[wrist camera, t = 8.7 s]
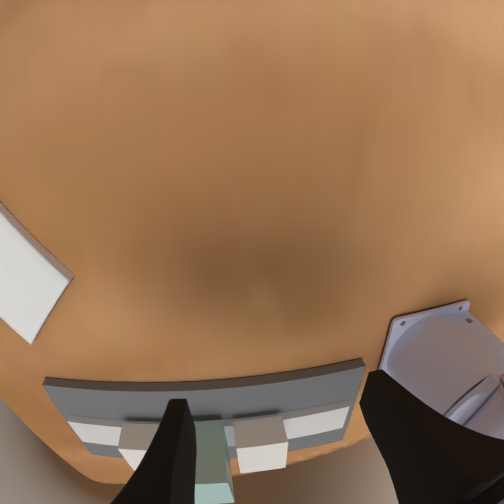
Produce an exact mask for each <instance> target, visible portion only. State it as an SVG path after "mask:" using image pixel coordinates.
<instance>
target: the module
mask: <svg viewBox="0 0 504 504" xmlns="http://www.w3.org/2000/svg"><path fill="white" fill-rule="evenodd" d="M194 425H195V428H196V444H197V457H196V477H195V504H218V503H234V494H233V484H232V475H231V466H230V456H229V448H228V443H227V439H226V434H225V430H224V425H223V421H222V420H221V421H207V422H194Z"/></svg>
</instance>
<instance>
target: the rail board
mask: <svg viewBox="0 0 504 504" xmlns="http://www.w3.org/2000/svg"><path fill="white" fill-rule="evenodd" d="M365 367H366V366H365V364H364V362H363V361H362V359H356V360H352V361H347V362H342V363H337V364H332V365H327V366H321V367H316V368H310V369H304V370H298V371H291V372H284V373H277V374H270V375H262V376H253V377H244V378H234V379H222V380H209V381H192V382H164V383H122V382H96V381H80V380H67V379H56V378H47V377H46V378H45V380H44V382H43V384H42V385H43V387H44V389H45V390H46V392H47V393H48V395H49V397H50V398H51V400H52V401H53V403H54V404H55V406H56V407H57V409H58V410H59V412H60V413H61V414H62V416H63V417H64V419H65V420H66V422H67V423H68V424H69V426H70V427H71V428H72V430H73V431H74V432H75V434H76V435H77V436H78V438H79V439H80V440H81V441H82V443H83V444H84V445H85V446H86V448H87V449H88V450H89V451H90V452H91V454H94V455H101V456H109V457H118V458H125V459H126V461H127V462H128V463H129V465H130V466H131V467H132V468H133V470H134V471H135V470H136V469H137V467H138V465H139V464H140V462H141V460H142V458H143V457H144V455H145V453H146V451H147V449H148V448H149V446H150V444H151V442H152V440H153V437H154V435H155V433H156V431H157V429H158V427H159V424H160V422H161V420H162V417H163V415H164V412H165V409H166V407H167V404H168V401H169V400H170V399H184V398H186V399H187V402H188V406H189V409H190V412H191V415H192V418H193V421H194V422H207V421H221V420H222V421H223V425H224V430H225V434H226V439H227V443H228V448H229V456H230V459H232V458H238V462H239V467H240V473H247V472H256V471H264V470H271V469H278V468H284V467H285V466H286V457H287V452H288V451H294V450H299V449H304V448H309V447H314V446H319V445H323V444H328V443H332V442H336V441H340V440H342V439H343V436H344V434H345V431H346V428H347V425H348V422H349V419H350V416H351V413H352V410H353V407H354V404H355V401H356V398H357V395H358V391H359V388H360V385H361V381H362V378H363V374H364V371H365Z"/></svg>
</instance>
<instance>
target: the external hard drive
mask: <svg viewBox="0 0 504 504" xmlns="http://www.w3.org/2000/svg"><path fill="white" fill-rule="evenodd" d="M73 277H74V275H73V274H72V273H71V272H70V271H69V270H68V269H66V268H65V267H64V266H63V265H62V264H61V263H60V262H59V261H58V260H57V259H56V258H54V257H53V256H52V255H51V254H50V253H49V252H48V251H47V250H46V249H45V248H44V247H43V246H42V245H41V244H40V243H39V242H38V241H37V240H36V239H35V238H34V237H33V236H32V235H31V234H30V233H29V232H28V231H27V230H26V229H25V228H24V227H23V226H22V225H21V224H20V223H19V222H18V221H17V220H16V219H15V218H14V217H13V216H12V215H11V213H10V212H9V211H8V210H7V209H6V208H5V207H4V206H3V205H2V203H1V202H0V317H1V318H2V319H3V320H4V321H5V322H6V323H7V324H8V325H9V326H11V327H12V328H13V329H14V330H15V331H16V332H17V333H18V334H19V335H21V336H22V337H23V338H24V339H25V340H26V341H27V342H29V343H30V344H32V343H33V341H34V340H35V338H36V337H37V335H38V333H39V331H40V329H41V328H42V326H43V324H44V323H45V321H46V319H47V318H48V316H49V314H50V313H51V311H52V309H53V308H54V306H55V304H56V303H57V301H58V300H59V298H60V297H61V295H62V294H63V292H64V290H65V289H66V287H67V286H68V284H69V283H70V281H71V280H72V279H73Z"/></svg>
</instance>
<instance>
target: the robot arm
mask: <svg viewBox="0 0 504 504" xmlns="http://www.w3.org/2000/svg"><path fill="white" fill-rule="evenodd" d="M469 307H470V302H469V301H468V300H465V301H461V302H457V303H454V304H450V305H446V306H442V307H438V308H434V309H430V310H426V311H422V312H418V313H413V314H409V315H405V316H400V317H396V318H395V319H393V321H392V322H391V326H390V330H389V334H388V337H387V341H386V345H385V348H384V352H383V355H382V359H381V362H380V365H379V369H378V370H376V371H373V372H369V374H368V377H367V381H366V384H365V387H364V390H363V394H362V397H361V400H360V403H359V404H360V407H361V410H362V413H363V416H364V419H365V422H366V424H367V426H368V428H369V430H370V432H371V434H372V436H373V438H374V440H375V442H376V444H377V446H378V448H379V450H380V452H381V454H382V456H383V458H384V460H385V462H386V465H387V467H388V470H389V473H390V476H391V479H392V481H393V485H394V488H395V491H396V495H397V499H398V502H399V504H504V344H503V342H502V341H501V340H500V339H499V338H498V337H497V336H496V335H494V334H493V333H492V332H491V331H490V330H489V329H488V328H487V327H486V326H485V325H484V324H483V323H481V322H480V321H479V320H478V319H477V318H476V317H475V316H474V315H473V314H471V313H470V312H469V311H468V310H469ZM402 321H403V322H402ZM401 322H402V323H401ZM196 457H197V444H196V428H195V425H194V421H193V418H192V415H191V412H190V409H189V406H188V402H187V399H186V398H184V399H170V400H169V401H168V404H167V407H166V409H165V412H164V415H163V417H162V420H161V422H160V424H159V427H158V429H157V431H156V433H155V435H154V437H153V440H152V442H151V444H150V446H149V448H148V449H147V451H146V453H145V455H144V457H143V458H142V460H141V462H140V464H139V465H138V467H137V469H136V470H135V472H134V473H133V475H132V476H131V478H130V479H129V481H128V482H127V484H126V485H125V487H124V488H123V489H122V490H121V491H120V493H119V494H118V495H117V497H116V498H115V499H114V500H113V501H112V503H111V504H195V477H196Z"/></svg>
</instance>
